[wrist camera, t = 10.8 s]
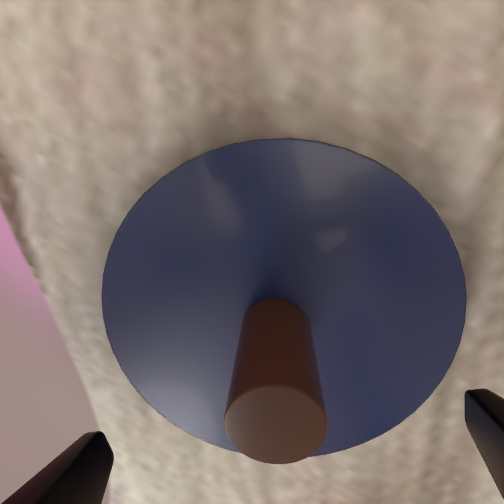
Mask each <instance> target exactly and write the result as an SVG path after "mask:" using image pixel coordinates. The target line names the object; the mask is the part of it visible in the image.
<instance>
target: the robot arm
mask: <svg viewBox="0 0 504 504" xmlns="http://www.w3.org/2000/svg"><path fill="white" fill-rule="evenodd" d="M465 422H466V425H467V428H468V430H469V432H470V434H471V436H472V438H473V440H474V442H475V444H476V446H477V448H478V450H479V452H480V454H481V456H482V458H483V460H484V462H485V464H486V466H487V468H488V470H489V472H490V474H491V476H492V477H493V479H494V481H495V483H496V485H497V487H498V489H499V491H500V493H501V495H502V497H503V499H504V399H503V398H502V397H500V396H498V395H496V394H495V393H493V392H491V391H489V390H487V389H474V390H468V391H466V392H465ZM113 461H114V455H113V451H112V449H111V447H110V445H109V443H108V441H107V439H106V437H105V435H104V433H102V432H101V431H97V432H88V433H86V434H84V435H83V436H81V437H80V438H79V439H78V440H77V441H75V442H74V443H73V444H72V445H71V446H70V447H68V448H67V449H66V450H65V451H64V452H62V453H61V454H60V455H59V456H58V457H56V458H55V459H54V460H53V461H52V462H51V463H49V464H48V465H47V466H46V467H45V468H43V469H42V470H41V471H40V472H39V473H37V474H36V475H35V476H34V477H33V478H32V479H30V480H29V481H28V482H27V483H25V484H24V485H23V486H22V487H21V488H20V489H18V490H17V491H16V492H15V493H14V494H12V495H11V496H10V497H9V498H8V499H6V500H5V501H4V502H3V503H2V504H101V503H102V499H103V496H104V493H105V489H106V486H107V483H108V479H109V476H110V472H111V469H112V466H113Z"/></svg>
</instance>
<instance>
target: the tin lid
mask: <svg viewBox="0 0 504 504" xmlns="http://www.w3.org/2000/svg"><path fill="white" fill-rule="evenodd" d="M102 309H103V318H104V323H105V328H106V332H107V336H108V339H109V342H110V344H111V347H112V350H113V353H114V355H115V357H116V359H117V361H118V363H119V365H120V367H121V369H122V370H123V372H124V373H125V375H126V376H127V378H128V379H129V381H130V382H131V384H132V385H133V387H134V388H135V389H136V390H137V391H138V392H139V394H140V395H141V396H142V397H143V398H144V399H145V401H147V402H148V403H149V404H150V405H151V406H152V407H153V408H154V409H155V410H156V411H157V412H158V413H159V414H161V415H162V416H163V417H165V418H166V419H168V420H169V421H170V422H172V423H173V424H174V425H176V426H177V427H179V428H181V429H182V430H184V431H186V432H187V433H189V434H191V435H193V436H195V437H197V438H199V439H201V440H204V441H206V442H208V443H210V444H213V445H216V446H219V447H222V448H224V449H227V450H231V451H235V452H239V453H243V454H244V455H246V456H248V457H250V458H252V459H254V460H257V461H260V462H264V463H270V464H287V463H293V462H297V461H300V460H303V459H305V458H307V457H311V456H319V455H325V454H330V453H334V452H338V451H342V450H346V449H349V448H351V447H354V446H357V445H360V444H363V443H365V442H367V441H369V440H371V439H373V438H376V437H378V436H380V435H382V434H383V433H385V432H387V431H388V430H390V429H392V428H393V427H395V426H396V425H398V424H400V423H401V422H402V421H403V420H405V419H406V418H407V417H408V416H410V415H411V414H412V413H413V412H415V411H416V410H417V409H418V408H419V407H420V406H421V405H422V404H423V403H424V402H425V401H426V400H427V399H428V398H429V397H430V395H431V394H432V393H433V391H434V390H435V389H436V388H437V386H438V385H439V384H440V382H441V381H442V379H443V378H444V376H445V374H446V372H447V371H448V369H449V367H450V365H451V364H452V362H453V359H454V357H455V354H456V352H457V349H458V347H459V344H460V341H461V336H462V332H463V328H464V323H465V314H466V289H465V277H464V273H463V269H462V265H461V261H460V257H459V254H458V251H457V249H456V247H455V244H454V242H453V240H452V238H451V235H450V233H449V231H448V229H447V228H446V226H445V225H444V223H443V222H442V220H441V219H440V217H439V215H438V214H437V212H436V211H435V210H434V208H433V207H432V206H431V205H430V204H429V203H428V202H427V201H426V199H425V198H424V197H423V196H422V195H421V194H420V193H419V192H418V191H417V190H416V189H415V188H414V187H412V186H411V185H410V184H409V183H408V182H406V181H405V180H404V179H403V178H402V177H400V176H399V175H398V174H397V173H395V172H393V171H392V170H390V169H388V168H387V167H385V166H383V165H382V164H380V163H378V162H377V161H375V160H373V159H371V158H368V157H366V156H364V155H361V154H359V153H356V152H354V151H352V150H349V149H347V148H343V147H339V146H335V145H331V144H327V143H323V142H319V141H311V140H302V139H293V138H277V139H258V140H252V141H246V142H240V143H234V144H231V145H228V146H224V147H221V148H218V149H215V150H212V151H208V152H206V153H204V154H202V155H200V156H198V157H196V158H193V159H191V160H189V161H187V162H185V163H183V164H182V165H180V166H179V167H177V168H176V169H174V170H173V171H171V172H170V173H168V174H167V175H165V176H164V177H162V178H161V179H160V180H159V181H158V182H156V183H155V184H154V185H153V186H152V187H151V188H150V189H149V190H148V191H147V192H145V193H144V194H143V195H142V197H141V198H140V199H139V200H138V202H137V203H136V204H135V205H134V206H133V208H132V209H131V210H130V211H129V213H128V214H127V216H126V217H125V219H124V221H123V223H122V224H121V226H120V228H119V229H118V231H117V233H116V235H115V238H114V240H113V243H112V245H111V248H110V250H109V253H108V257H107V261H106V265H105V269H104V273H103V284H102Z"/></svg>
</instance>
